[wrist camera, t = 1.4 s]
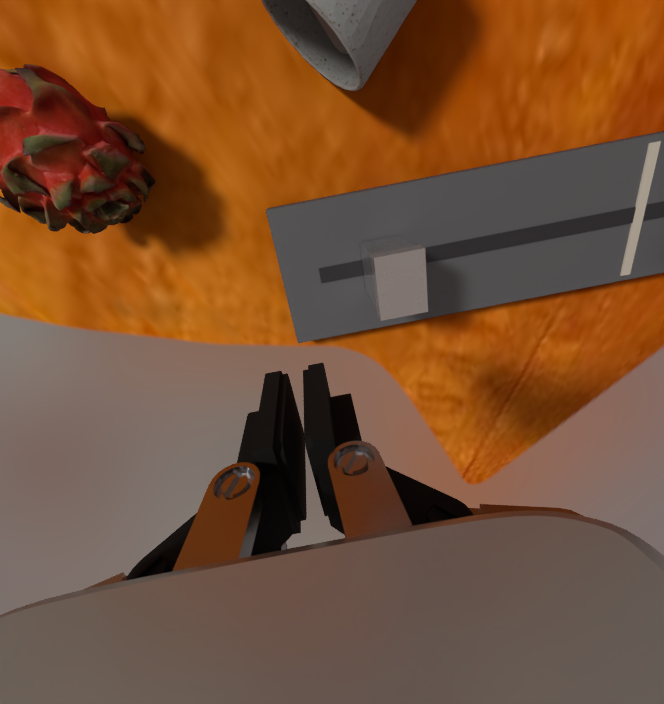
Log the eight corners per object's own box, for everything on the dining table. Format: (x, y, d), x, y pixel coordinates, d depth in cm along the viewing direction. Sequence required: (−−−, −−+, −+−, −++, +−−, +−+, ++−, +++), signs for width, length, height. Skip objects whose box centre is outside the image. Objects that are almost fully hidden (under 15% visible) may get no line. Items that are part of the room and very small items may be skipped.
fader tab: (358, 241, 26) (373, 258, 21) (399, 233, 26) (425, 247, 21) (365, 293, 28) (381, 320, 23) (403, 285, 28) (428, 311, 23)
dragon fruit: (185, 209, 28) (35, 138, 26) (177, 98, 21) (-30, -9, 19) (121, 282, 23) (-63, 202, 22) (83, 173, 16) (-194, 43, 15)
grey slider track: (267, 208, 27) (263, 212, 23) (720, 119, 27) (785, 110, 23) (298, 334, 32) (298, 353, 28) (679, 260, 32) (727, 270, 28)
